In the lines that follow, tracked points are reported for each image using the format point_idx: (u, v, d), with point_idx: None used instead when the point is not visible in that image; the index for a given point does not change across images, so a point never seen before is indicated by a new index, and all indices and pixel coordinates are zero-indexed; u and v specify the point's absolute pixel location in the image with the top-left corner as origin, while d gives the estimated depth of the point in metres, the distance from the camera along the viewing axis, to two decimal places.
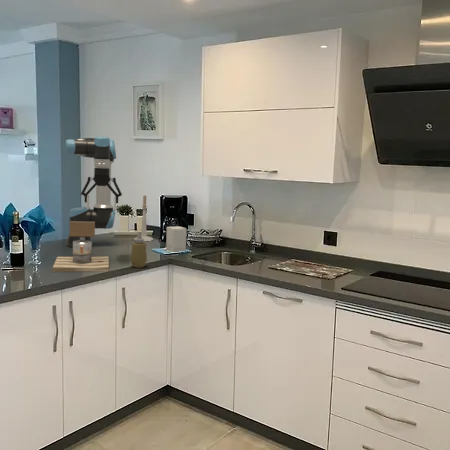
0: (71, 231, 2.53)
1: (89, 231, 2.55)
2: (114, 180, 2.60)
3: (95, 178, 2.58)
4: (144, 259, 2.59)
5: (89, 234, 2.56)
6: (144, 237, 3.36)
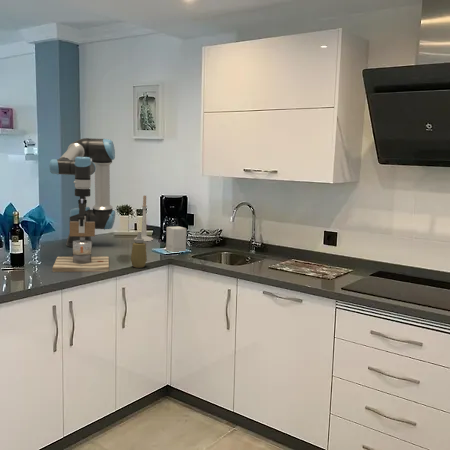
0: (71, 231, 2.53)
1: (89, 231, 2.55)
2: (79, 201, 2.48)
3: None
4: (144, 259, 2.59)
5: (89, 234, 2.56)
6: (144, 237, 3.36)
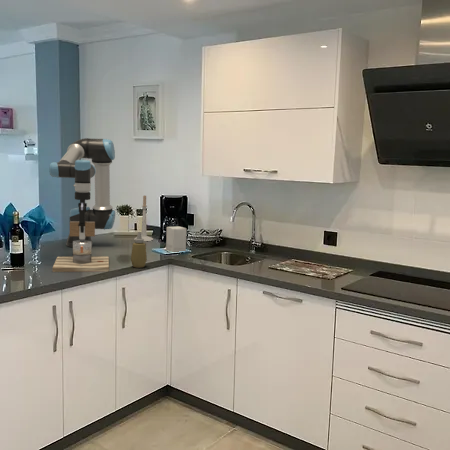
0: (71, 231, 2.53)
1: (89, 231, 2.55)
2: (79, 208, 2.49)
3: None
4: (144, 259, 2.59)
5: (89, 234, 2.56)
6: (144, 237, 3.36)
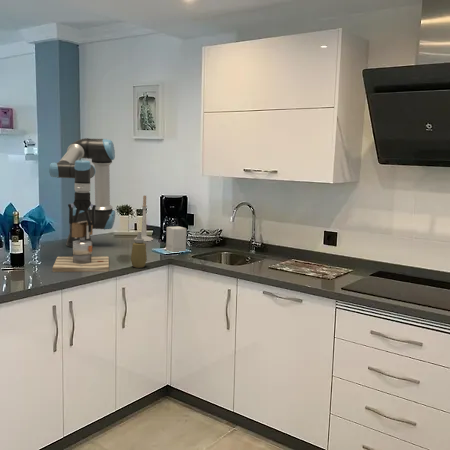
0: (78, 232, 2.51)
1: None
2: (93, 207, 2.54)
3: (75, 202, 2.53)
4: (144, 259, 2.59)
5: (89, 233, 2.59)
6: (144, 237, 3.36)
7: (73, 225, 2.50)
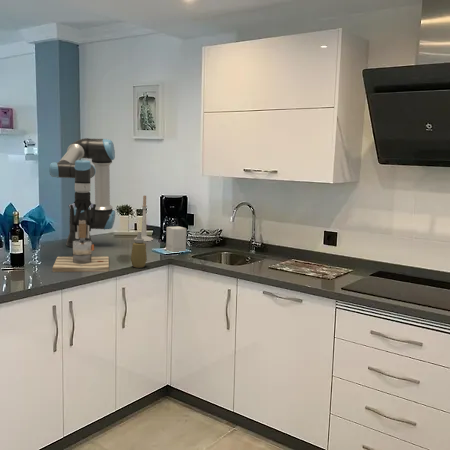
0: (85, 232, 2.52)
1: None
2: (94, 206, 2.57)
3: (77, 203, 2.51)
4: (144, 259, 2.59)
5: None
6: (144, 237, 3.36)
7: (81, 226, 2.50)
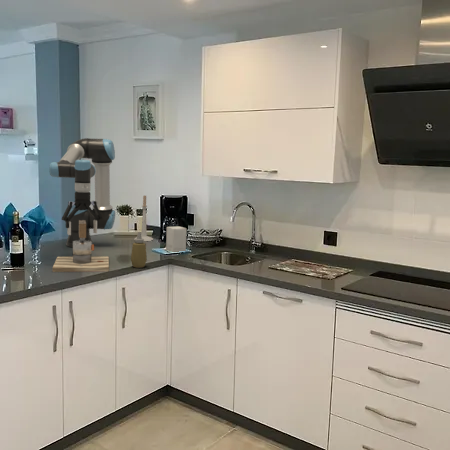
0: None
1: None
2: (95, 203, 2.57)
3: (77, 202, 2.51)
4: (144, 259, 2.59)
5: None
6: (144, 237, 3.36)
7: (81, 226, 2.50)
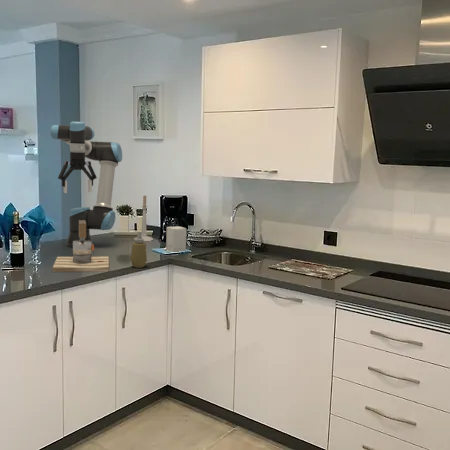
0: None
1: None
2: (90, 163, 2.71)
3: (72, 162, 2.65)
4: (144, 259, 2.59)
5: None
6: (144, 237, 3.36)
7: (81, 226, 2.50)
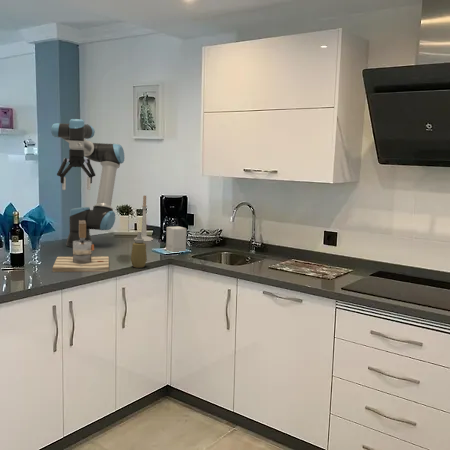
0: None
1: None
2: (89, 161, 2.73)
3: (71, 159, 2.67)
4: (144, 259, 2.59)
5: None
6: (144, 237, 3.36)
7: (81, 226, 2.50)
